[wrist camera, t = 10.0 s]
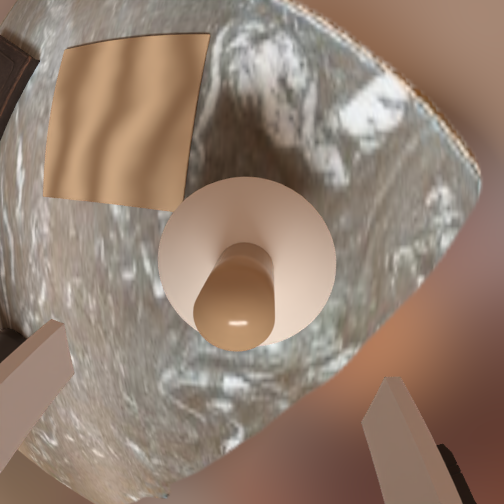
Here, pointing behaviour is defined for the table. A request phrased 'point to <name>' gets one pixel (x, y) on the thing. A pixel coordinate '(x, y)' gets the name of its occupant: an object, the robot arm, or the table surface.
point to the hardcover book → (12, 78)
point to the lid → (246, 262)
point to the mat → (125, 121)
